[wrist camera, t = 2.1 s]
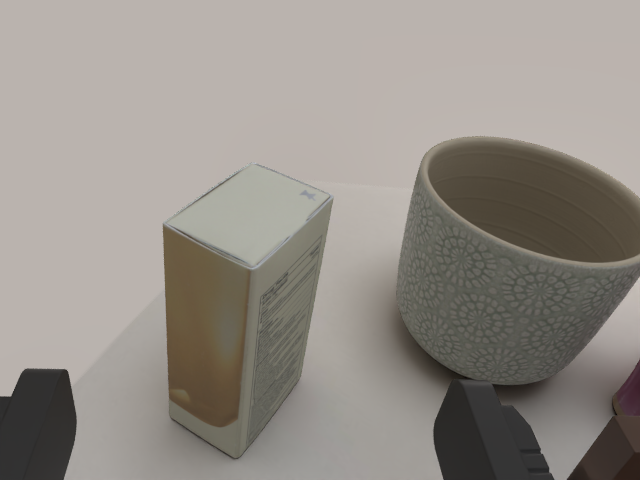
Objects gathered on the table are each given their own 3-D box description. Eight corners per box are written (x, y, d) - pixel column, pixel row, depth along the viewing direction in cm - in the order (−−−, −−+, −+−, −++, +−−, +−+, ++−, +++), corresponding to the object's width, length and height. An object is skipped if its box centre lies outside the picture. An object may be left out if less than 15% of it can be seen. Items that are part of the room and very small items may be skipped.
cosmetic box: (238, 343, 33) (255, 155, 25) (303, 378, 31) (340, 191, 24) (161, 422, 28) (156, 218, 21) (234, 467, 26) (255, 267, 19)
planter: (588, 326, 38) (670, 190, 32) (546, 459, 29) (649, 307, 23) (422, 249, 43) (465, 116, 36) (342, 345, 34) (380, 190, 27)
